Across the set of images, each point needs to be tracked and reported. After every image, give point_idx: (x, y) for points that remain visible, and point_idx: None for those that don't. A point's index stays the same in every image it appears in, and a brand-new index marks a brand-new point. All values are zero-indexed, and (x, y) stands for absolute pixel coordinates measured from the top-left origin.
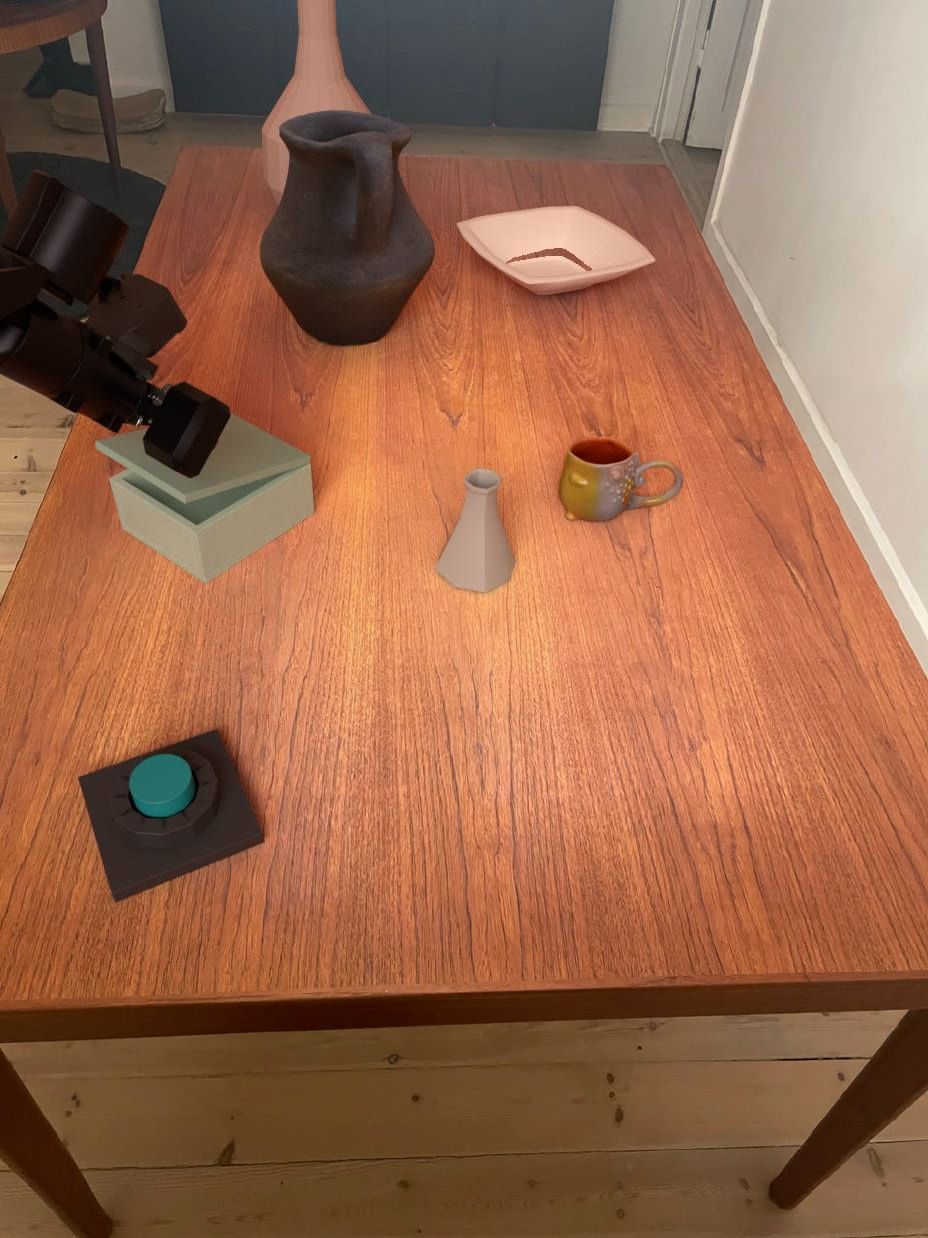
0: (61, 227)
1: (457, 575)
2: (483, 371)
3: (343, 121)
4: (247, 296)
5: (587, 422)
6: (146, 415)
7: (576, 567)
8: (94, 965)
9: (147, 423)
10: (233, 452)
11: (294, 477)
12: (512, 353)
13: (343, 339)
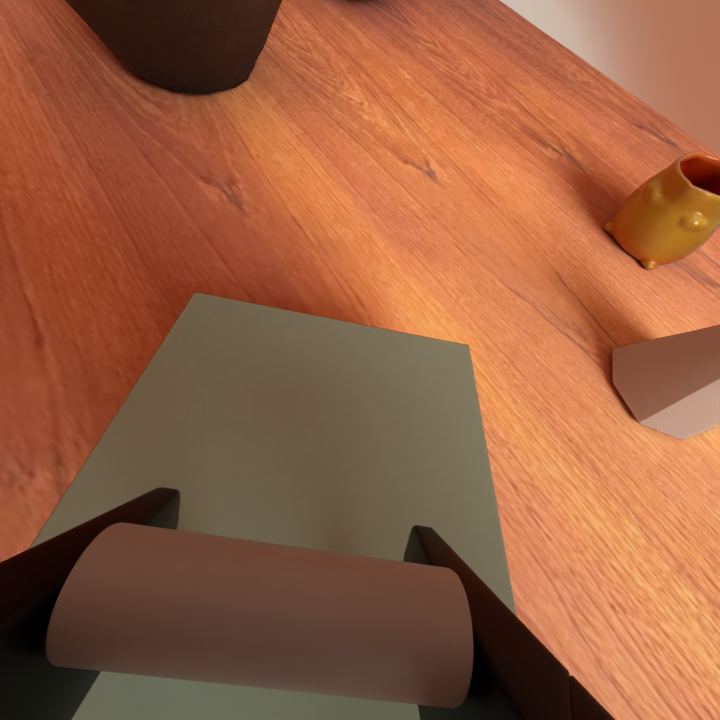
0: None
1: (696, 429)
2: (393, 98)
3: None
4: (4, 38)
5: (534, 138)
6: (52, 708)
7: None
8: None
9: (80, 693)
10: (371, 452)
11: None
12: (397, 71)
13: (214, 82)
